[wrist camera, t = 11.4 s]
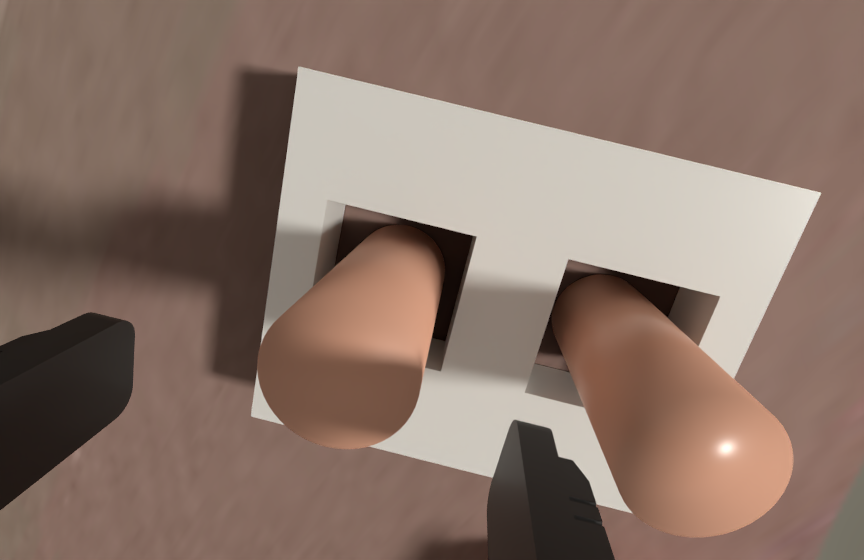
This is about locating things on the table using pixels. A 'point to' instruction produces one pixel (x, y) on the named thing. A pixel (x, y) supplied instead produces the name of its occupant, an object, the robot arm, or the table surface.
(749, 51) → the table surface
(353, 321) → the pin
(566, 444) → the pin board
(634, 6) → the table surface
